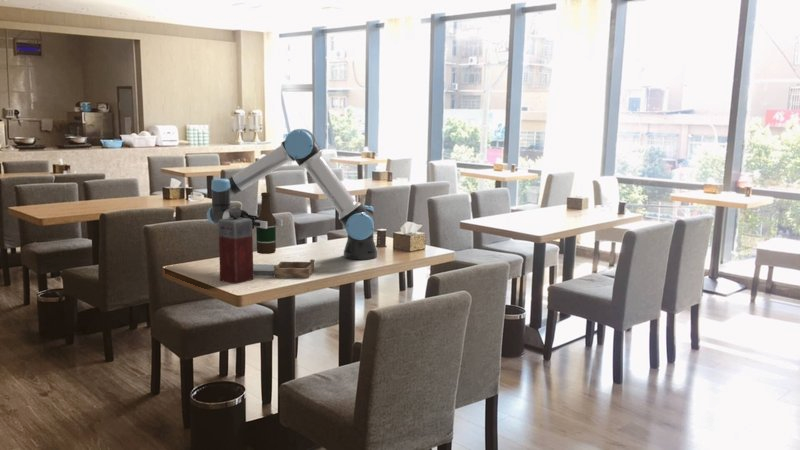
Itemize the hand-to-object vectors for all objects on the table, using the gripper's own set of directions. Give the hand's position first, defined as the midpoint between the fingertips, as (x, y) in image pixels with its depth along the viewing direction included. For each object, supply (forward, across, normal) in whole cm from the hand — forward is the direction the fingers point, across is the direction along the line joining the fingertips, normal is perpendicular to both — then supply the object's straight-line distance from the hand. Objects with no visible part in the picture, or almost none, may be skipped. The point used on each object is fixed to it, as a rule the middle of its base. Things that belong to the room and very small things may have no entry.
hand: (274, 224), depth 268 cm
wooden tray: (+7, -4, -20) cm, 21 cm away
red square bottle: (-4, +17, -20) cm, 27 cm away
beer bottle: (-5, 0, -12) cm, 13 cm away
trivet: (-6, 0, -20) cm, 21 cm away
